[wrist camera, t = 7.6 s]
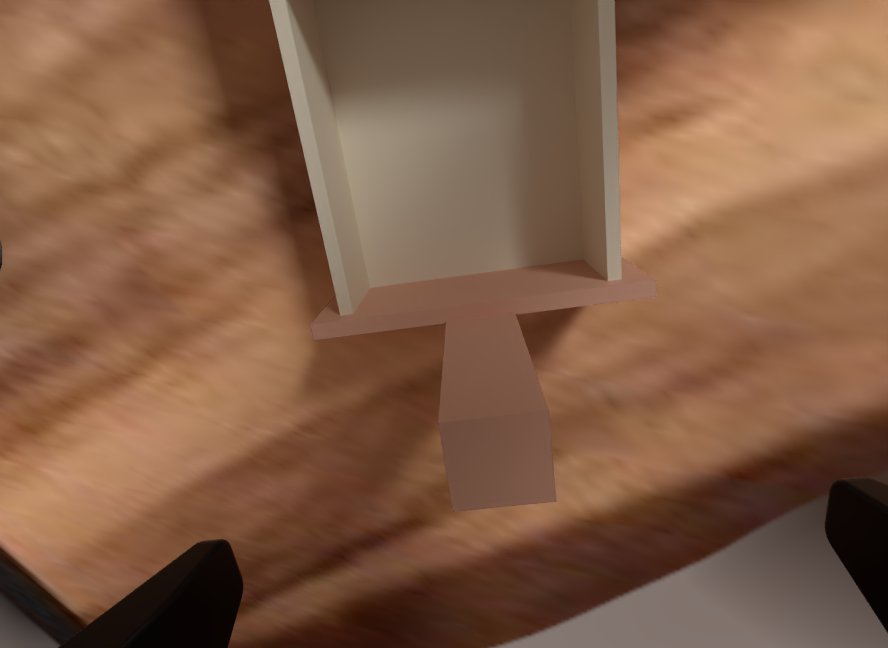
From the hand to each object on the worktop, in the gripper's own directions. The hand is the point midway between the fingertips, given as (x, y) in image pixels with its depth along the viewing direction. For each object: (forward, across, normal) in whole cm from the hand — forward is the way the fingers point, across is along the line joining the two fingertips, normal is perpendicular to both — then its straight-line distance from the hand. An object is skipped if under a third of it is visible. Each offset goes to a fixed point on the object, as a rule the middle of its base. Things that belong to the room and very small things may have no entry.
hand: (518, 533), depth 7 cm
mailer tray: (+12, 0, -7) cm, 13 cm away
